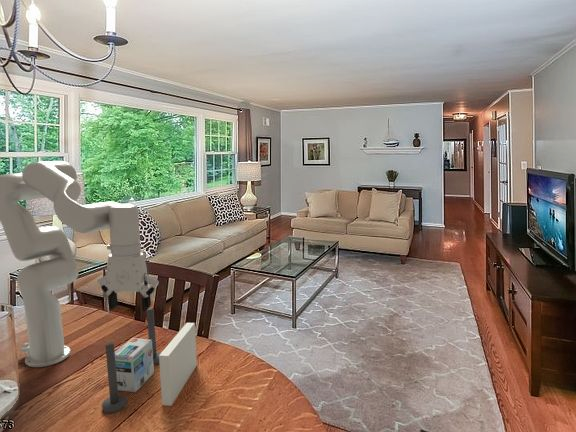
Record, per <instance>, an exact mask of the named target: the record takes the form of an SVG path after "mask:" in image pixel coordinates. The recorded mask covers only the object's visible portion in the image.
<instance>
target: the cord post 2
mask: <svg viewBox="0 0 576 432" xmlns="http://www.w3.org/2000/svg"><path fill="white" fill-rule="evenodd" d="M146 316H147V332H148V339H149V340H152V348H153V364H154V366H156V365H160V363H159V355H160V354H161V353H162V352H158V351H157V342H156V341H157V340H156V339H157V338H156V328H155V327H156V323H155V310H154V308H153V307H151V308H148V309H147V310H146Z"/></svg>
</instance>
